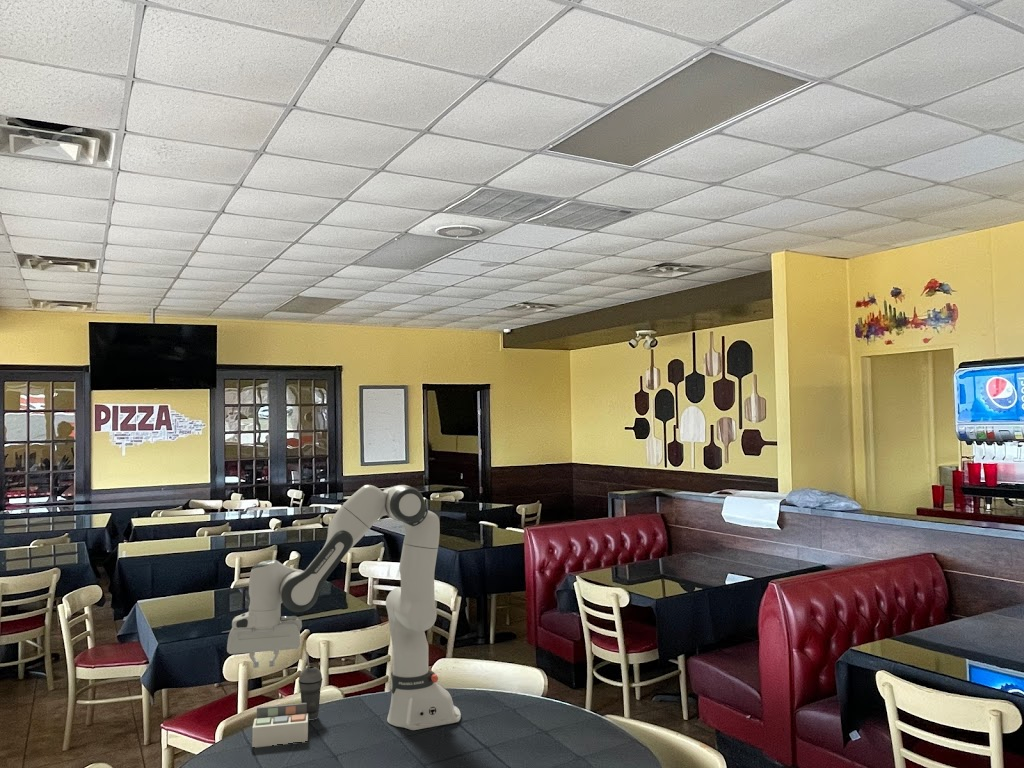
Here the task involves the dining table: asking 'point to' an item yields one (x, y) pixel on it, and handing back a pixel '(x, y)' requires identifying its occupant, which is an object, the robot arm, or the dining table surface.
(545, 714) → the dining table surface
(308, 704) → the beverage cup
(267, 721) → the key sage
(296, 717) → the key terracotta
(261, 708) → the keypad console
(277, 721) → the key slate
